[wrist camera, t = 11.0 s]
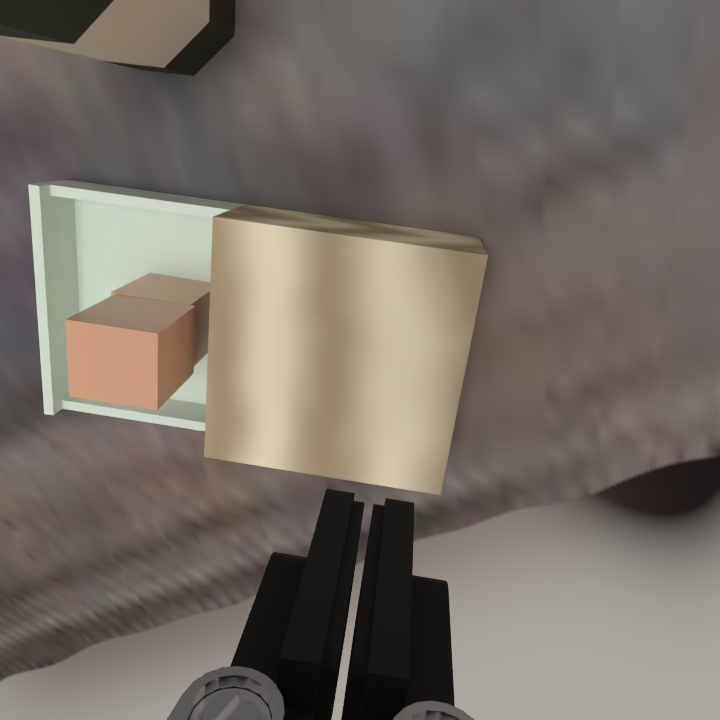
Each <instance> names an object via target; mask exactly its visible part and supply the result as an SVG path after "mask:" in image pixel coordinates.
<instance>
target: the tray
mask: <svg viewBox="0 0 720 720" xmlns="http://www.w3.org/2000/svg"><path fill="white" fill-rule="evenodd" d="M29 198H30V213H31V227H32V242H33V256H34V271H35V285H36V300H37V314H38V328H39V343H40V357H41V372H42V386H43V401H44V414H49V415H55V414H56V413H57V412H59V411H60V410H61V409H68V410H75V411H81V412H87V413H93V414H100V415H106V416H112V417H119V418H125V419H131V420H137V421H144V422H150V423H156V424H163V425H169V426H175V427H181V428H188V429H194V430H200V431H205V419H206V391H207V363H208V353H207V354H206V355H205V356H204V357H203V358H202V359H201V360H200V361H199V362H198V363H197V364H196V365H195V366H194V373H193V374H192V375H191V376H190V378H189V379H188V380H187V381H186V382H185V383H184V384H183V385H182V386H181V387H180V388H179V389H178V390H177V391H176V392H175V393H174V394H173V395H172V396H171V397H170V398H169V399H168V400H167V401H166V402H165V403H164V404H163V405H162V406H161V407H160V408H159V409H158V410H152V409H146V408H139V407H133V406H127V405H120V404H114V403H108V402H102V401H95V400H89V399H83V398H76V397H70V396H69V383H68V364H67V344H66V325H65V319H67V318H69V317H71V316H73V315H75V314H77V313H79V312H81V311H83V310H85V309H87V308H89V307H91V306H93V305H95V304H97V303H99V302H101V301H103V300H105V299H107V298H108V297H110V296H111V292H112V291H114V290H116V289H118V288H120V287H122V286H124V285H126V284H128V283H130V282H132V281H134V280H136V279H138V278H140V277H142V276H144V275H146V274H148V273H154V274H160V275H167V276H173V277H179V278H186V279H192V280H199V281H205V282H210V280H211V252H212V224H213V216H216V215H218V214H221V213H224V212H226V211H229V210H232V209H234V208H237V207H240V206H242V205H245V204H239V203H232V202H225V201H218V200H211V199H204V198H196V197H189V196H182V195H175V194H168V193H161V192H153V191H146V190H139V189H132V188H125V187H118V186H110V185H103V184H96V183H89V182H82V181H75V180H62V181H53V182H45V183H37V184H29Z"/></svg>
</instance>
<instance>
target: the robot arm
mask: <svg viewBox="0 0 720 720" xmlns="http://www.w3.org/2000/svg"><path fill="white" fill-rule="evenodd" d="M354 495H355V493H350V492H344V491H338V490H332V489H326V492H325V496H324V499H323V503H322V507H321V510H320V514H319V517H318V521H317V524H316V528H315V532H314V535H313V539H312V542H311V546H310V550H309V553H308V557H301V556H295V555H289V554H283V553H277V552H273V554H272V555H271V557H270V560H269V562H268V565H267V568H266V571H265V573H264V576H263V579H262V582H261V584H260V587H259V590H258V593H257V595H256V598H255V601H254V604H253V606H252V609H251V612H250V614H249V617H248V620H247V623H246V625H245V628H244V631H243V634H242V636H241V639H240V642H239V644H238V647H237V650H236V653H235V655H234V658H233V661H232V663H231V666H230V667H222V668H219V669H216V670H213V671H210V672H208V673H205V674H204V675H203V676H201V677H200V678H198V679H197V680H195V681H194V682H192V684H191V685H190V686H189V687H188V688H187V690H186V691H185V692H184V693H183V694H182V696H181V697H180V699H179V701H178V702H177V704H176V705H175V707H174V709H173V710H172V712H171V714H170V715H169V717H168V718H167V720H331V718H332V712H333V706H334V700H335V693H336V687H337V681H338V675H339V668H340V662H341V656H342V650H343V643H344V637H345V631H346V624H347V618H348V611H349V604H350V598H351V591H352V584H353V577H354V570H355V564H356V557H357V550H358V544H359V537H360V530H361V523H362V517H363V510H364V502H357V501H354ZM413 531H414V503H412V502H406V501H400V500H393V499H387V498H386V500H385V505H384V506H382V505H376V504H374V505H373V511H372V518H371V524H370V530H369V537H368V543H367V550H366V556H365V563H364V570H363V576H362V582H361V589H360V596H359V602H358V608H357V615H356V621H355V628H354V635H353V642H352V649H351V656H350V663H349V670H348V678H347V684H346V691H345V699H344V706H343V712H342V719H341V720H474V719H473V718H471V717H470V716H469V715H467V714H466V713H465V712H464V711H462V710H460V709H458V708H456V707H455V706H454V688H453V669H452V649H451V631H450V611H449V592H448V583H447V581H443V580H438V579H431V578H426V577H420V576H414V575H412V566H413Z"/></svg>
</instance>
